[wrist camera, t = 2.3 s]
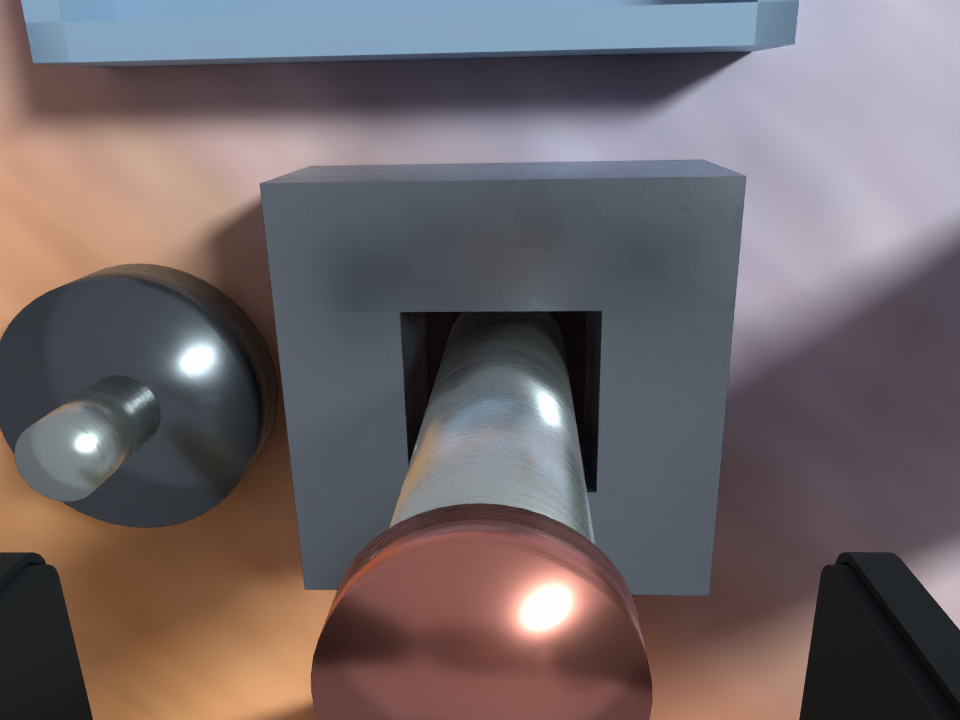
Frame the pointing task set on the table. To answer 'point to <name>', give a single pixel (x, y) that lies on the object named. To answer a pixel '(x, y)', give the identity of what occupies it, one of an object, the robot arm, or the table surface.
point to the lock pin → (488, 558)
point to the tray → (392, 29)
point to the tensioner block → (510, 287)
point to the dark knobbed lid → (135, 395)
